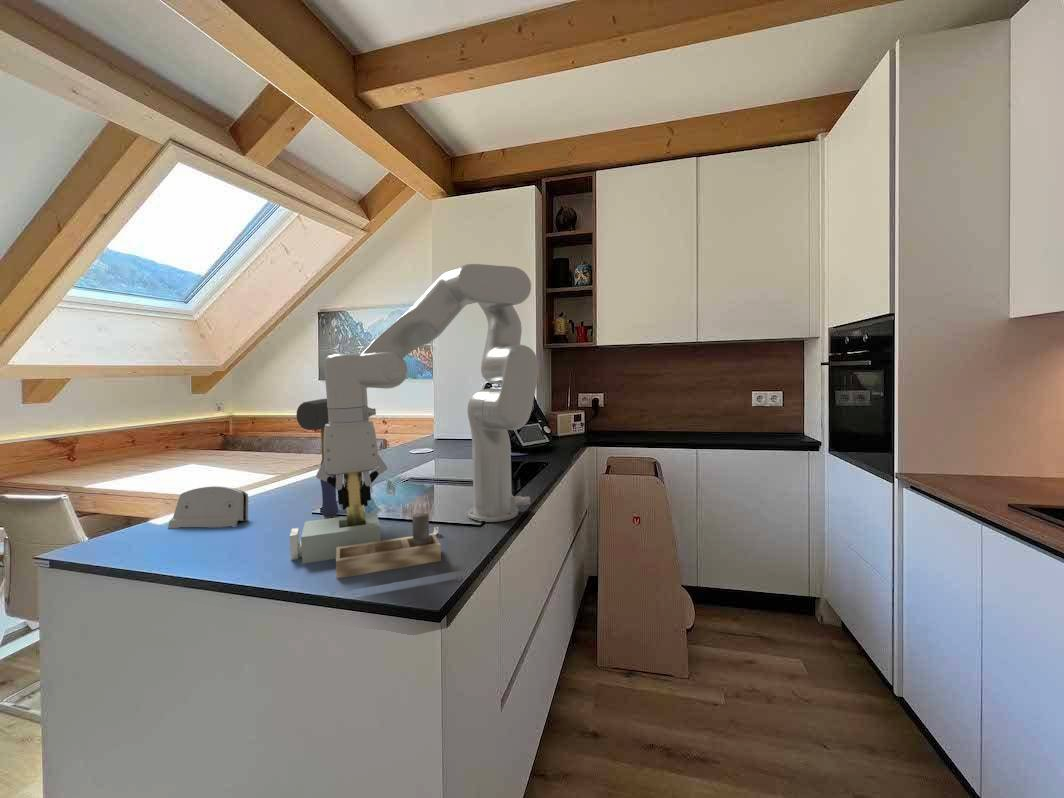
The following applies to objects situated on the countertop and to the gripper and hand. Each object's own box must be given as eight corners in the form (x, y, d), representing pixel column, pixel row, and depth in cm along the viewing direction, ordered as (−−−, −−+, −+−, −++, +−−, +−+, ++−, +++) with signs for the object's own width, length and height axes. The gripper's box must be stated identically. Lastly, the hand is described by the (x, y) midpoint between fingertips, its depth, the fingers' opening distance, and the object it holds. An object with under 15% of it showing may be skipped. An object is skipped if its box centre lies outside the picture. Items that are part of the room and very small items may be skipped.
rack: (434, 552, 94) (433, 508, 94) (441, 565, 88) (439, 518, 87) (337, 568, 88) (335, 520, 87) (336, 583, 81) (334, 532, 80)
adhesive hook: (441, 543, 100) (440, 529, 100) (428, 544, 100) (428, 530, 100) (441, 538, 103) (440, 524, 103) (429, 539, 103) (428, 525, 103)
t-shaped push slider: (337, 548, 97) (336, 522, 96) (337, 556, 92) (336, 529, 92) (293, 555, 93) (292, 528, 93) (291, 563, 89) (289, 535, 89)
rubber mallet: (322, 526, 112) (316, 400, 110) (298, 523, 114) (292, 400, 112) (359, 511, 123) (354, 397, 121) (336, 508, 126) (331, 397, 124)
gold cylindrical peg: (365, 528, 98) (361, 467, 97) (366, 533, 95) (361, 470, 94) (348, 531, 97) (343, 469, 96) (348, 536, 94) (343, 472, 93)
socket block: (377, 539, 102) (376, 512, 102) (381, 556, 93) (380, 526, 92) (306, 550, 97) (305, 521, 97) (302, 568, 88) (301, 537, 87)
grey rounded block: (166, 528, 112) (174, 486, 115) (180, 528, 117) (187, 488, 120) (236, 526, 113) (243, 484, 116) (248, 527, 117) (253, 486, 120)
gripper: (389, 411, 101) (395, 495, 102) (304, 417, 94) (311, 507, 96) (393, 414, 94) (399, 504, 95) (301, 421, 87) (309, 518, 89)
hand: (355, 505), depth 95 cm, fingers closed on gold cylindrical peg, 3 cm apart
